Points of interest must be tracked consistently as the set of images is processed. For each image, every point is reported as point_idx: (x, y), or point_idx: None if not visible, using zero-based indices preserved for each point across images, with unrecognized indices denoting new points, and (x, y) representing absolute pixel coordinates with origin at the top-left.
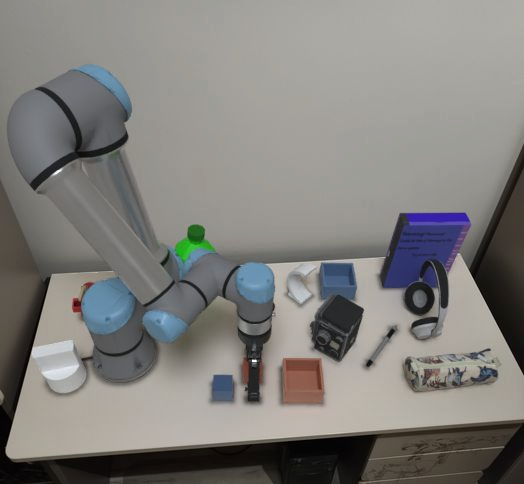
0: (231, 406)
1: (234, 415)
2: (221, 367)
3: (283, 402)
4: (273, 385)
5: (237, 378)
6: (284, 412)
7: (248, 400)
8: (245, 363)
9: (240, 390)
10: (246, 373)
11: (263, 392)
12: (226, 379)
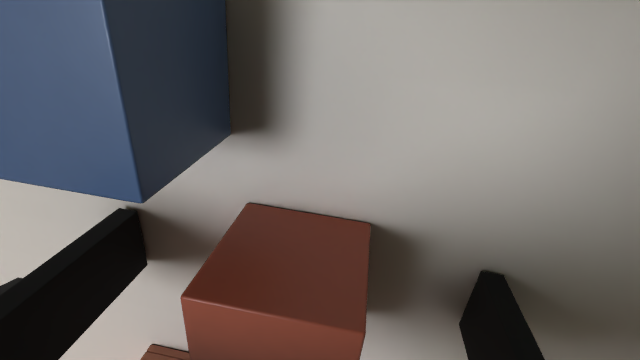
0: None
1: None
2: (397, 55)
3: (150, 346)
4: None
5: (281, 172)
6: (108, 335)
7: (111, 219)
8: (285, 335)
9: (191, 178)
10: (187, 312)
11: None
12: (66, 133)
